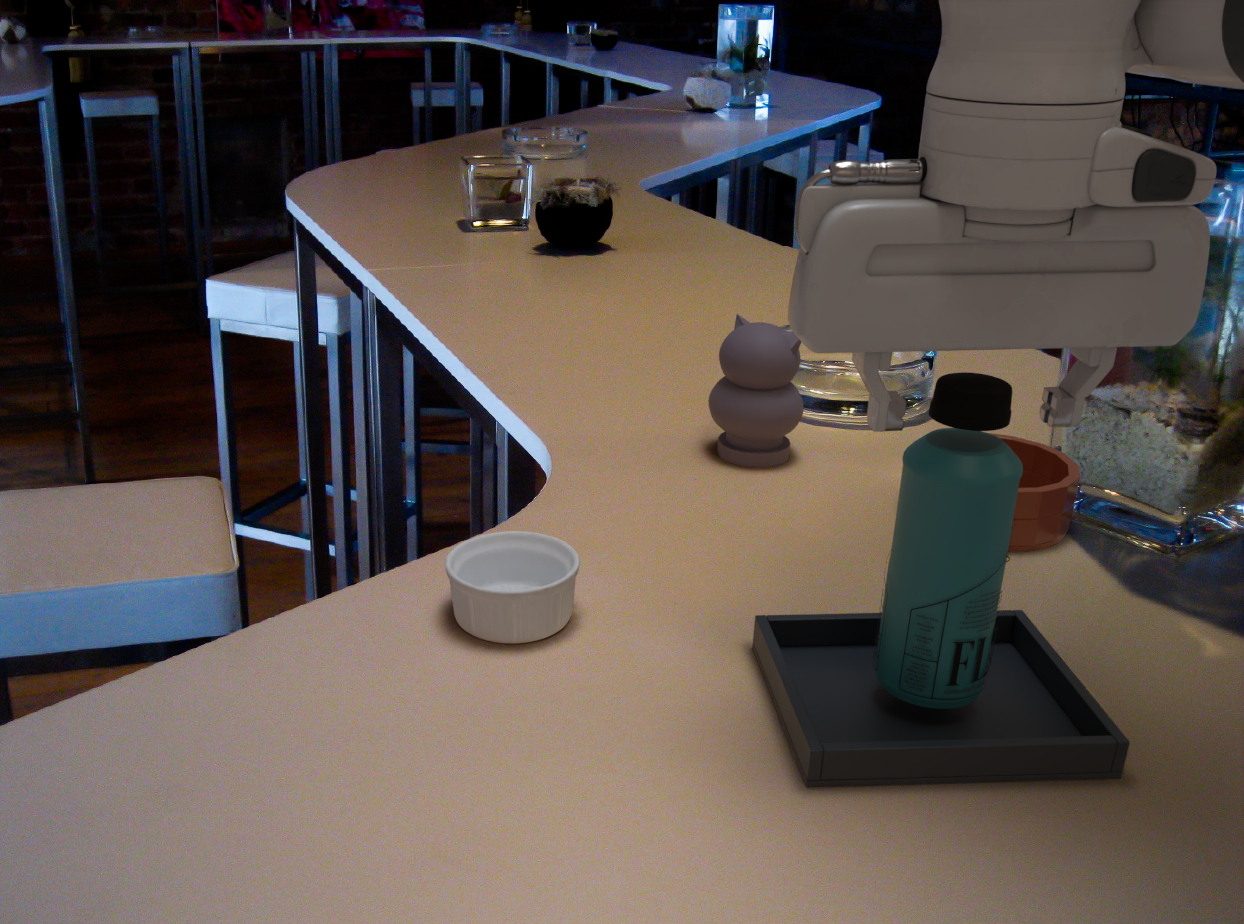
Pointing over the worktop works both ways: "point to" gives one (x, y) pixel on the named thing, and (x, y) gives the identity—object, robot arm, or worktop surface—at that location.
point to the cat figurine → (757, 394)
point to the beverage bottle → (949, 547)
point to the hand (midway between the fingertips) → (971, 426)
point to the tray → (930, 710)
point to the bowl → (1042, 495)
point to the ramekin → (512, 585)
